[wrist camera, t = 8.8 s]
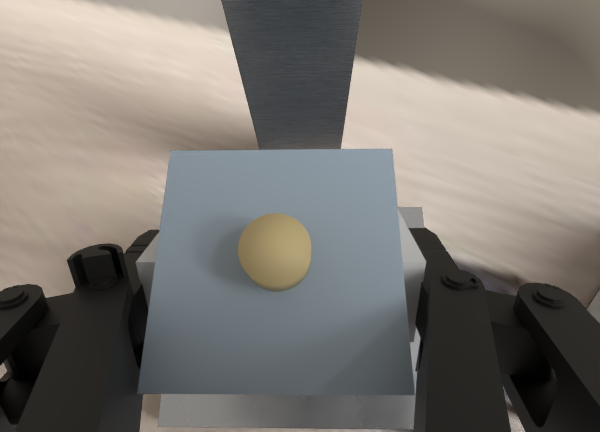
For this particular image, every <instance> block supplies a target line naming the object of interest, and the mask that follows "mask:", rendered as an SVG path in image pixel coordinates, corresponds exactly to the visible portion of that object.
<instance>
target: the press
mask: <svg viewBox="0 0 600 432" xmlns="http://www.w3.org/2000/svg"><path fill="white" fill-rule="evenodd" d="M221 1H222V5H223V9H224V13H225V16H226V21H227V24H228V28H229V32H230V36H231V40H232V44H233V48H234V52H235V55H236V59H237V63H238V67H239V71H240V75H241V79H242V83H243V86H244V90H245V94H246V98H247V102H248V106H249V110H250V114H251V117H252V121H253V125H254V129H255V133H256V137H257V141H258V145H259V148H260V150H302V149H341V143H342V136H343V129H344V122H345V116H346V109H347V102H348V95H349V88H350V81H351V74H352V68H353V61H354V54H355V47H356V40H357V33H358V27H359V20H360V13H361V6H362V0H221ZM398 210H399V212H400V214H401V216H402V218H403V220H404V221H405V223H406V225H407V227H408V228H424V222H423V213H422V207H398ZM419 344H420V336H419V333H418V330H417V328H416V331H415V338H414V342H410V348H411V359H412V369H413V380H414V391H415V395H261V394H161V401H160V409H159V418H158V426H157V427H206V428H316V429H413V428H414V412H415V396H416V381H417V372H416V371H415V369H416V363H417V357H418V350H419Z"/></svg>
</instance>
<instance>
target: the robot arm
mask: <svg viewBox="0 0 600 432" xmlns="http://www.w3.org/2000/svg"><path fill="white" fill-rule="evenodd" d="M398 218H399V229H400V239H401V250H402V261H403V272H404V283H405V294H406V304H407V315H408V326H409V337H410V342H414V338H415V331H416V328H417V330H418V333H419V336H420V344H419V350H418V357H417V363H416V369H415V371H416V372H417V381H416V396H415V412H414V428H413V432H511V429H510V423H509V418H508V413H507V407H506V402H505V396H504V391H503V386H504V388H505V391H506V393H507V395H508V397H509V399H510V401H511V403H512V405H513V407H514V409H515V411H516V413H517V415H518V417H519V419H520V421H521V423H522V425H523V427H524V429H525V432H600V323H599V322H598V321H597V320H596V319H595V318H594V317H593V316H592V315H591V314H590V313H589V311H588V310H587V309H586V308H585V307H584V306H583V305H582V304H581V303H580V302H579V301H578V300H577V299H576V298H575V297H573V296H572V295H571V294H570V293H568V292H566V291H564V290H562V289H560V288H558V287H556V286H551V285H549V284H542V283H526V284H524V285H522V286H520V288H519V291H518V294H517V296H511V295H506V294H501V293H496V292H492V291H488V290H485V289H484V285H483V283H482V282H481V280H480V279H478V278H477V277H476V276H475V275H473V274H471V273H469V272H466V271H463V270H459V268H458V267H457V265H456V264H455V262H454V261H453V259H452V258H451V256H450V255H449V253H448V252H447V251H446V249H445V247H444V246H443V244H441V241H440V240H439V238H438V237H437V235H436V234H434V233H433V232H431V231H430V230H428V229H427V228H408V227H407V225H406V223H405V221H404V220H403V218H402V216H401V214H400V212H399V210H398ZM159 231H160V230H149V231H147V232H146V233H144V234H142V235H140V236H139V237H138V238H137V239H136V240H135V241H134V242H133V243H132V245H131V246H130V247H129V248H128V249H127V250H126V253H124V254H123V250H122V248H121V247H120V246H118V245H115V244H98V245H94V246H89V247H87V248H84V249H81V250H79V251H77V252H76V253H74V254H72V255H71V256H70V257H69V258H68V260H67V262H68V265H69V268H70V271H71V274H72V277H73V280H74V283H75V286H76V287H75V290H74V292H73V293H70V294H65V295H60V296H54V297H49V298H45V296H44V293H43V290H42V288H41V287H39V286H37V285H31V284H26V285H17V286H12V287H9V288H6V289H4V290H2V291H1V292H0V365H1V364H2V363H4V365H5V367H6V369H7V372H6V374H5V375H4V376H3V377H2V378H1V379H0V432H139V429H140V419H141V409H142V399H143V394H137V391H138V384H139V377H140V369H141V362H142V355H143V348H144V340H145V333H146V326H147V318H148V311H149V304H150V297H151V289H152V282H153V275H154V267H155V260H156V253H157V246H158V238H159ZM502 384H503V386H502Z"/></svg>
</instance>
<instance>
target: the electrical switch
mask: <svg viewBox="0 0 600 432" xmlns="http://www.w3.org/2000/svg"><path fill="white" fill-rule="evenodd" d="M587 310H588V311H589V313H590V314H591V315H592V316H593V317H594V318H595V319H596V320H597V321H598V322H599V323H600V289H599V291H598V292H597V294H596V295H595V297H594V299H593V300H592V302H591V303H590V305H589V306H588V308H587Z"/></svg>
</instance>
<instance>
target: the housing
mask: <svg viewBox="0 0 600 432" xmlns="http://www.w3.org/2000/svg"><path fill="white" fill-rule="evenodd" d="M137 394H261V395H415V391H414V380H413V369H412V359H411V348H410V337H409V326H408V315H407V304H406V294H405V283H404V272H403V261H402V250H401V239H400V229H399V218H398V207H397V196H396V185H395V174H394V163H393V153H392V149H302V150H180V151H170V158H169V165H168V173H167V180H166V187H165V195H164V202H163V209H162V216H161V224H160V231H159V238H158V246H157V253H156V260H155V267H154V275H153V282H152V289H151V297H150V304H149V311H148V318H147V326H146V333H145V340H144V348H143V355H142V362H141V369H140V377H139V384H138V391H137Z"/></svg>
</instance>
